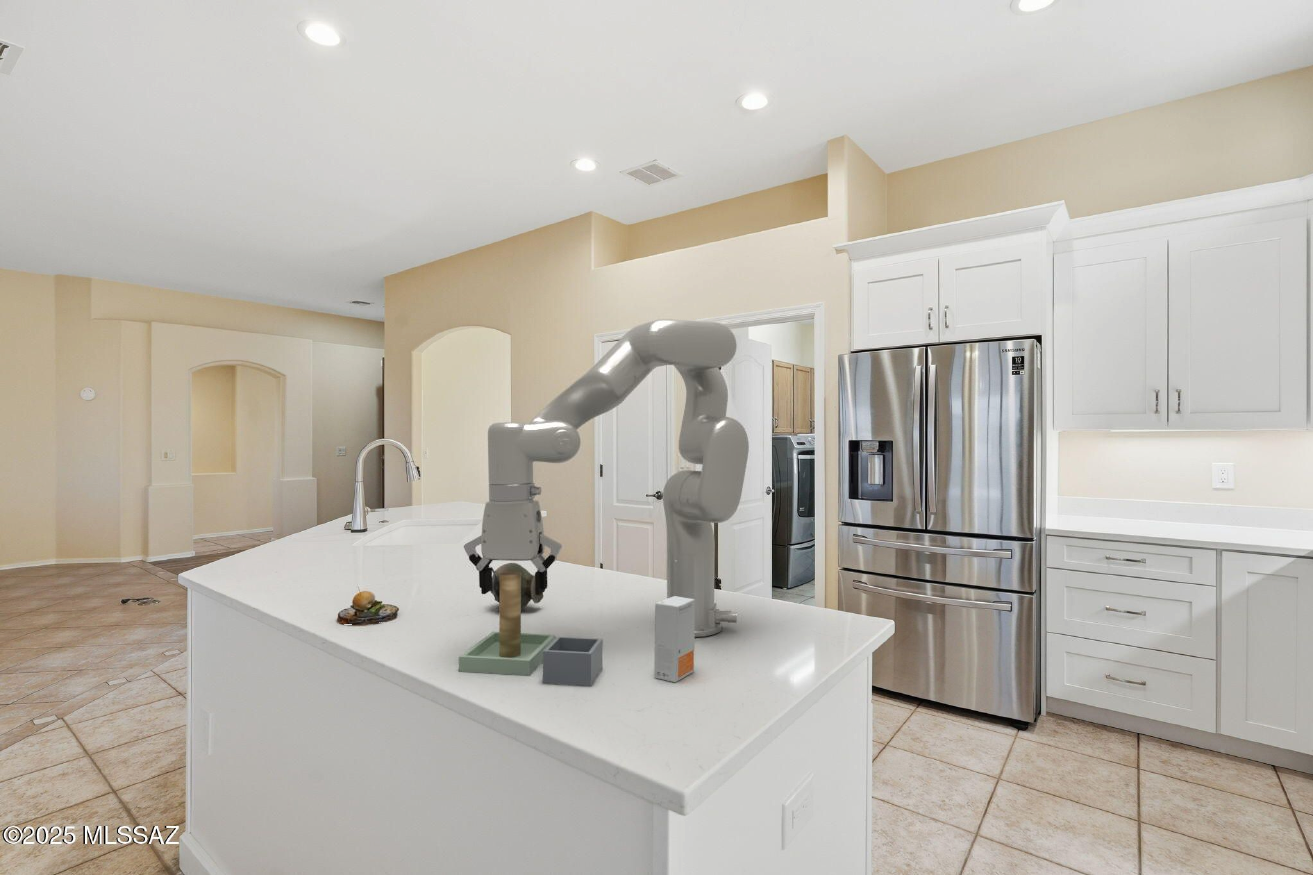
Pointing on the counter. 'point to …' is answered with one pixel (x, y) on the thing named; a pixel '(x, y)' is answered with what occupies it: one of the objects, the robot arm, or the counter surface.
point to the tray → (488, 659)
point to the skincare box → (674, 638)
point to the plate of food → (367, 611)
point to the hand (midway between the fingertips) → (513, 592)
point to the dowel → (510, 614)
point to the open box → (572, 661)
